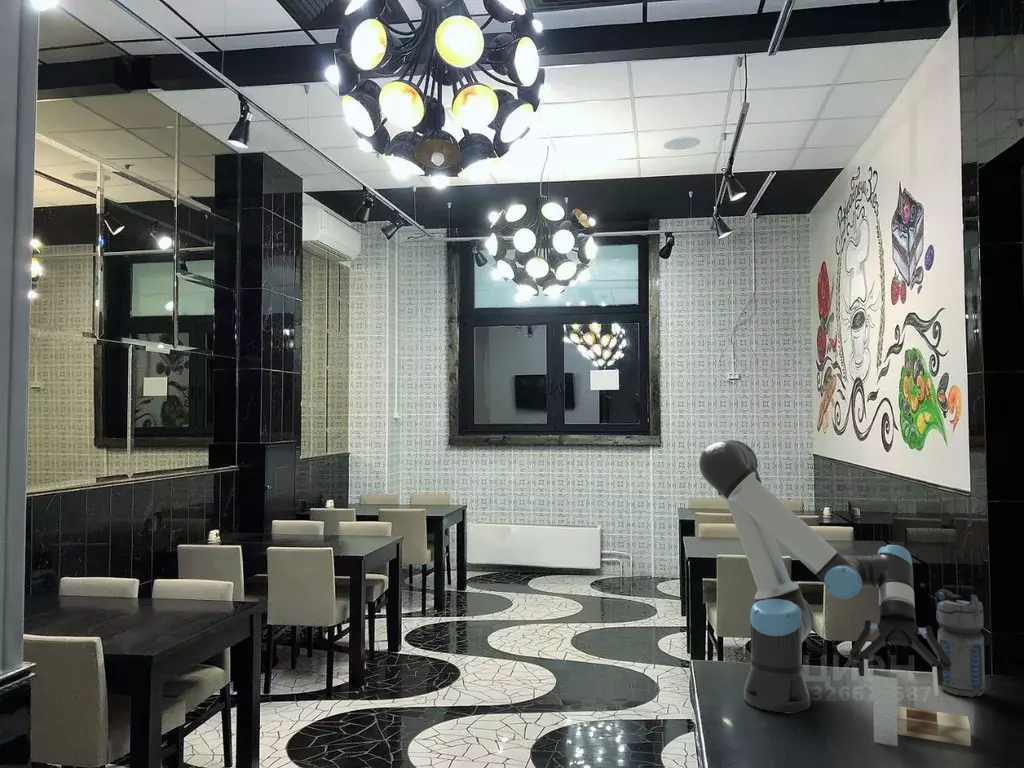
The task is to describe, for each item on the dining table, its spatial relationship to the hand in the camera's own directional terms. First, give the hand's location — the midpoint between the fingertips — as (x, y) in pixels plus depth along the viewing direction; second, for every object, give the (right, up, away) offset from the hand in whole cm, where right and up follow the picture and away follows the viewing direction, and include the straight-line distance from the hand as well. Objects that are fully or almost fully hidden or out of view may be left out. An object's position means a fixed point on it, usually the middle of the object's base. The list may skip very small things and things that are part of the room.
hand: (900, 694), depth 170 cm
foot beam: (+6, -9, +2) cm, 11 cm away
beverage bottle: (+29, -11, +29) cm, 42 cm away
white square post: (-4, -9, -2) cm, 10 cm away
